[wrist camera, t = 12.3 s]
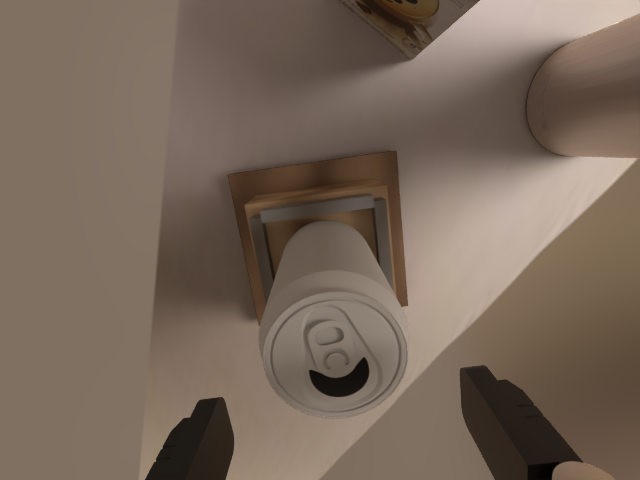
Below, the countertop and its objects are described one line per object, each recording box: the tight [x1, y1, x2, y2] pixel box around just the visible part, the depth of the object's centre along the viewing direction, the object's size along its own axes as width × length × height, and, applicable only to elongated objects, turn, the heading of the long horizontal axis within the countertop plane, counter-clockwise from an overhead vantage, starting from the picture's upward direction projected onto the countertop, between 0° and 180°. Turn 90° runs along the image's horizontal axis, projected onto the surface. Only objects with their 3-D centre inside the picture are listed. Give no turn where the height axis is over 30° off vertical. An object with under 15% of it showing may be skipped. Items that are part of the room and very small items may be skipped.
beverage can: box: [259, 220, 409, 419], centre depth 19 cm, size 6×6×12 cm
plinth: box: [228, 151, 408, 326], centre depth 27 cm, size 14×14×8 cm
